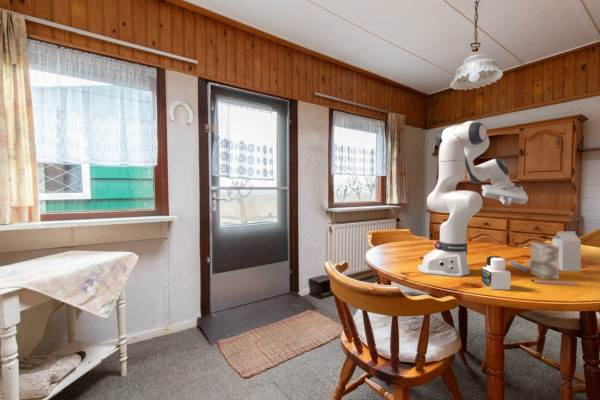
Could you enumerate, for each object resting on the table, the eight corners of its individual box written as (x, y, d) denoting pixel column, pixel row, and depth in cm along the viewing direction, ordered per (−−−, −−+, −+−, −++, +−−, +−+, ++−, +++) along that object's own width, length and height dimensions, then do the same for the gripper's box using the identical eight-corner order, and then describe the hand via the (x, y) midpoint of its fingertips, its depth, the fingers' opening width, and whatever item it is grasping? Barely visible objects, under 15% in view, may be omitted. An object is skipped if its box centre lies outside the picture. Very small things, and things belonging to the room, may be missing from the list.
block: (541, 278, 116) (542, 245, 116) (530, 273, 124) (531, 242, 124) (558, 279, 115) (559, 246, 115) (546, 273, 123) (546, 242, 122)
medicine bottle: (481, 283, 114) (481, 254, 114) (500, 284, 113) (500, 255, 113) (490, 289, 107) (491, 259, 107) (510, 290, 106) (511, 259, 106)
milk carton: (580, 273, 126) (581, 232, 126) (562, 273, 128) (563, 232, 127) (568, 269, 133) (569, 230, 133) (551, 268, 134) (552, 230, 134)
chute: (536, 283, 114) (536, 276, 114) (503, 266, 140) (503, 260, 140) (576, 285, 111) (576, 278, 111) (535, 267, 137) (535, 261, 137)
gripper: (483, 179, 152) (486, 195, 143) (526, 187, 147) (532, 203, 137) (478, 188, 157) (481, 204, 147) (520, 196, 151) (526, 212, 141)
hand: (506, 203), depth 142 cm, fingers closed
